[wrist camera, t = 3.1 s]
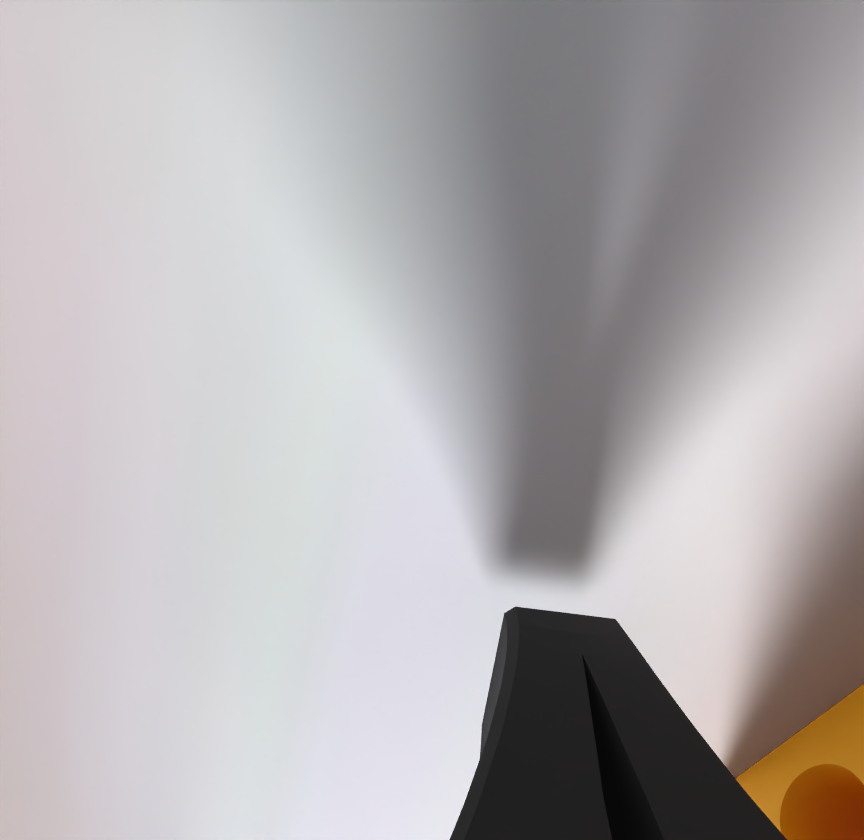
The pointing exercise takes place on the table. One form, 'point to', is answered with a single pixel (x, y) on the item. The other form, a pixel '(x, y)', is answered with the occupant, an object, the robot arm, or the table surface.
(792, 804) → the orange notched block
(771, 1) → the table surface
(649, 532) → the table surface
